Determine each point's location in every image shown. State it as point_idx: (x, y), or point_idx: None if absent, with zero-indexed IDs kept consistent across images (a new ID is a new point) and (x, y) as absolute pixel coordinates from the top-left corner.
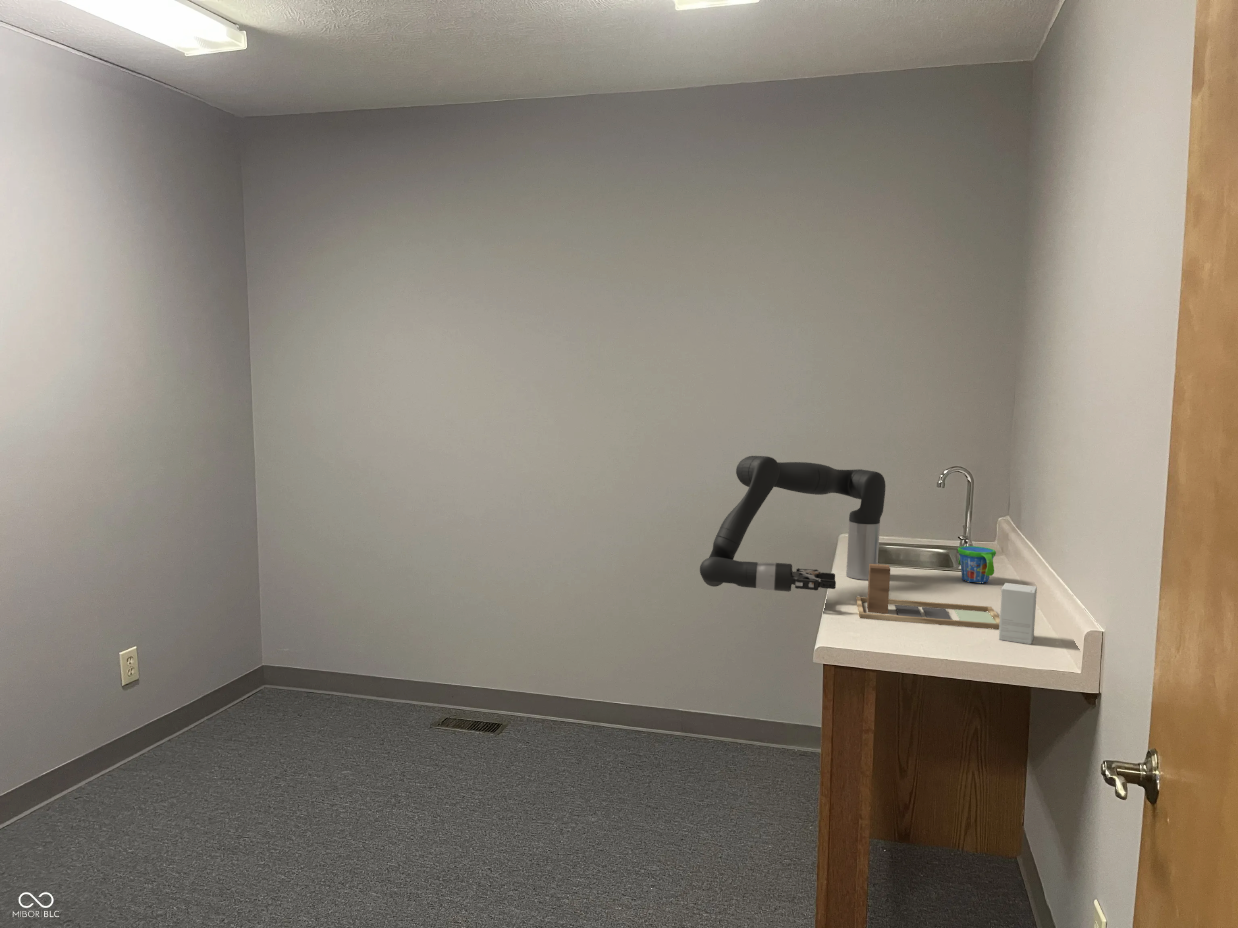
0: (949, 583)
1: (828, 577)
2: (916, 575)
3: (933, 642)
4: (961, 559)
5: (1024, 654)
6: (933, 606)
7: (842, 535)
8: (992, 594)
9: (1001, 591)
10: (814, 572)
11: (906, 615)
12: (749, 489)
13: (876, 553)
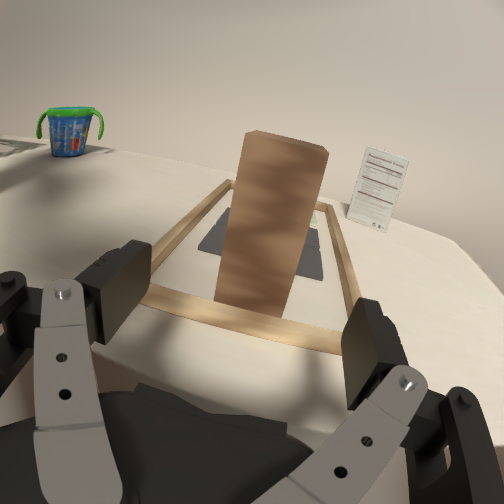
0: (61, 164)
1: (132, 288)
2: (2, 170)
3: (457, 291)
4: (60, 125)
5: (429, 241)
6: (207, 210)
7: None
8: (133, 162)
9: (407, 165)
10: (87, 333)
11: (304, 263)
12: None
13: None
